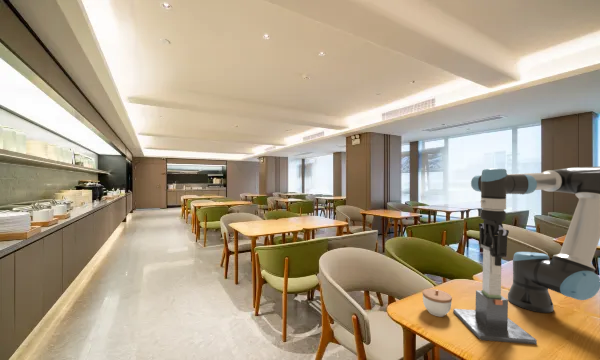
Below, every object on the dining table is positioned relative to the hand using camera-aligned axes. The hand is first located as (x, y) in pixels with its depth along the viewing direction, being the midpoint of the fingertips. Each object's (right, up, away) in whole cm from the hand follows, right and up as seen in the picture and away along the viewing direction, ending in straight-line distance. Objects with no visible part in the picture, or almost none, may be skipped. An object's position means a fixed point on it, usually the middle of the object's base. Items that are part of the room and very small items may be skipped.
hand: (491, 271), depth 94 cm
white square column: (0, -12, 0) cm, 12 cm away
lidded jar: (-16, -21, +10) cm, 28 cm away
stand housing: (0, -21, 0) cm, 21 cm away
